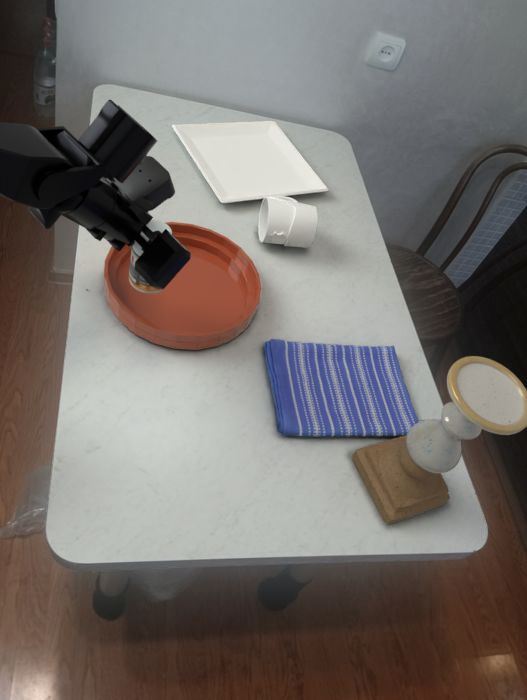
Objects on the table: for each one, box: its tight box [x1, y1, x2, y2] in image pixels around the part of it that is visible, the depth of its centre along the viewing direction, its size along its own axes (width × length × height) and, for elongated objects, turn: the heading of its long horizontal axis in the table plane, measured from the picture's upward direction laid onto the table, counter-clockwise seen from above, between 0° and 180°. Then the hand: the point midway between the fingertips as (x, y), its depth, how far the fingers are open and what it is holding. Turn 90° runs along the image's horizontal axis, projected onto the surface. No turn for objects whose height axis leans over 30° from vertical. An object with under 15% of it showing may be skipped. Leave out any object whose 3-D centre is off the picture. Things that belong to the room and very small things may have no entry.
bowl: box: [103, 221, 263, 351], centre depth 89 cm, size 25×25×4 cm
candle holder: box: [351, 355, 527, 525], centre depth 69 cm, size 11×11×24 cm
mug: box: [257, 196, 319, 249], centre depth 102 cm, size 12×9×8 cm
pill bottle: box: [129, 218, 172, 294], centre depth 77 cm, size 6×6×10 cm
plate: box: [171, 120, 330, 204], centre depth 116 cm, size 26×26×2 cm
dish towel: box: [263, 337, 419, 438], centre depth 85 cm, size 17×24×3 cm
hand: (160, 245), depth 76 cm, fingers closed on pill bottle, 6 cm apart
